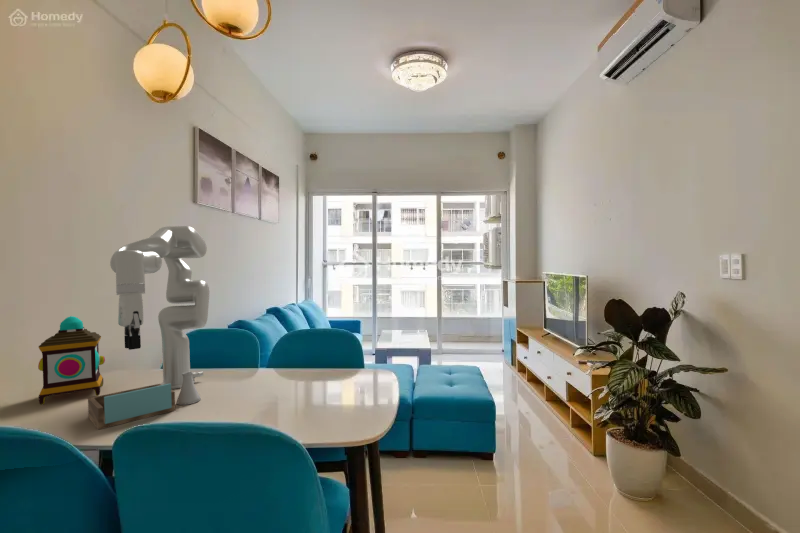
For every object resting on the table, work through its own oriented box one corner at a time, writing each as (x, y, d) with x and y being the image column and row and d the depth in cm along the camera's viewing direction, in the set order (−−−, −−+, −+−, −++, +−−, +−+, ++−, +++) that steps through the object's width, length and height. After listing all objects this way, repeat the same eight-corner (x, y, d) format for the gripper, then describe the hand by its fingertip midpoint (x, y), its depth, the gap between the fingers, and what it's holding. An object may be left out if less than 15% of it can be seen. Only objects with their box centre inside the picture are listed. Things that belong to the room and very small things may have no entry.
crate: (160, 400, 141) (159, 383, 141) (175, 410, 130) (174, 391, 130) (88, 417, 127) (87, 398, 127) (98, 429, 116) (98, 408, 116)
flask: (190, 405, 134) (189, 375, 134) (171, 405, 136) (170, 375, 136) (205, 399, 141) (204, 370, 141) (187, 398, 143) (186, 370, 143)
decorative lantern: (103, 396, 151) (101, 315, 151) (33, 407, 140) (30, 320, 140) (107, 384, 168) (105, 312, 168) (44, 394, 157) (42, 316, 157)
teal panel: (170, 407, 129) (169, 383, 129) (171, 407, 128) (170, 383, 128) (104, 423, 116) (104, 396, 116) (105, 423, 116) (104, 397, 116)
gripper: (110, 290, 130) (112, 347, 130) (123, 290, 118) (125, 353, 118) (137, 289, 135) (139, 344, 135) (152, 288, 124) (154, 348, 123)
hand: (132, 347), depth 127 cm, fingers open, 3 cm apart
